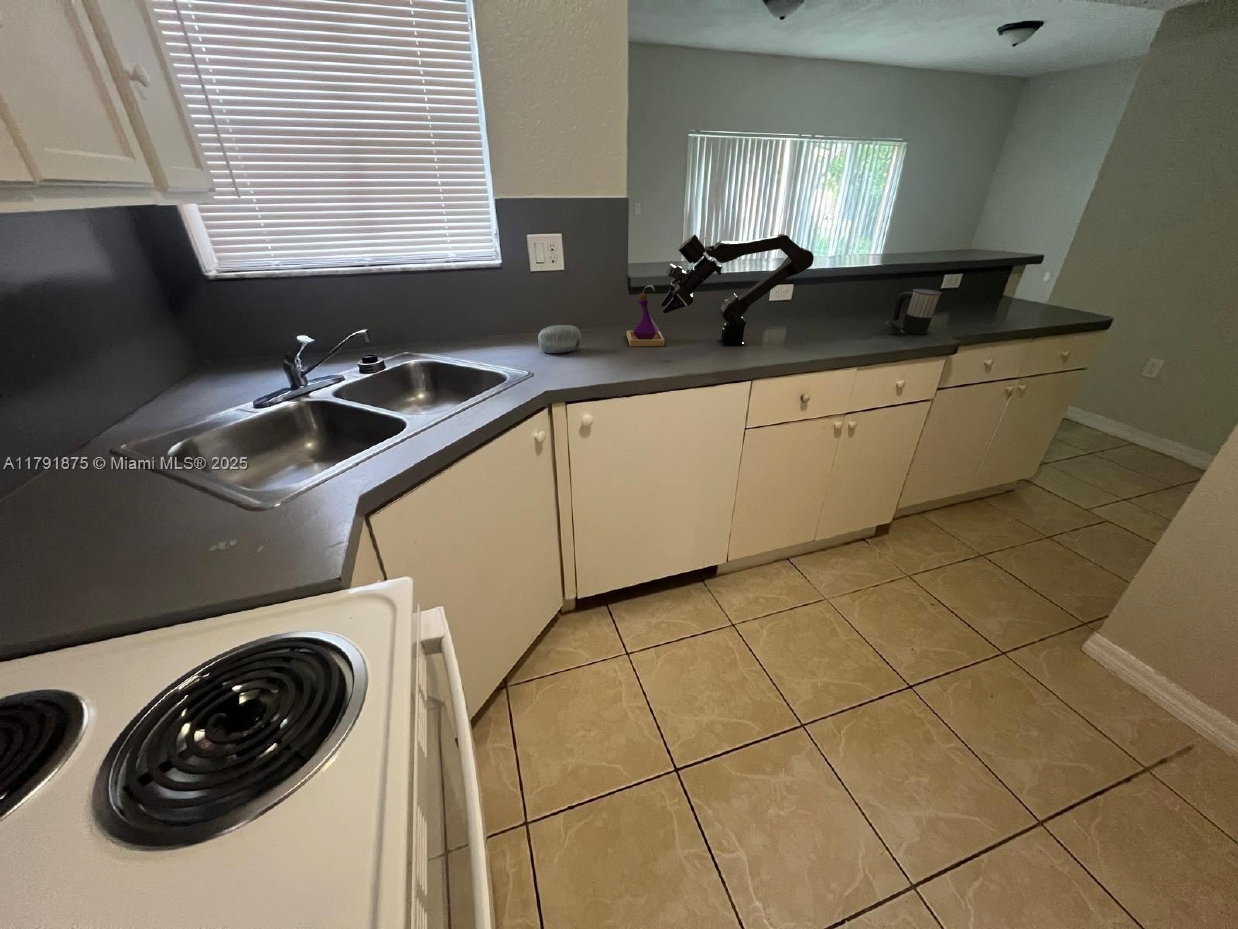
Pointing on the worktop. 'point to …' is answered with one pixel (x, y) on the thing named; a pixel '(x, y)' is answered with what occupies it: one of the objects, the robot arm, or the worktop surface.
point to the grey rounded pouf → (559, 339)
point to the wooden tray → (656, 340)
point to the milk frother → (915, 311)
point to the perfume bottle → (645, 320)
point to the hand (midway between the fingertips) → (662, 309)
